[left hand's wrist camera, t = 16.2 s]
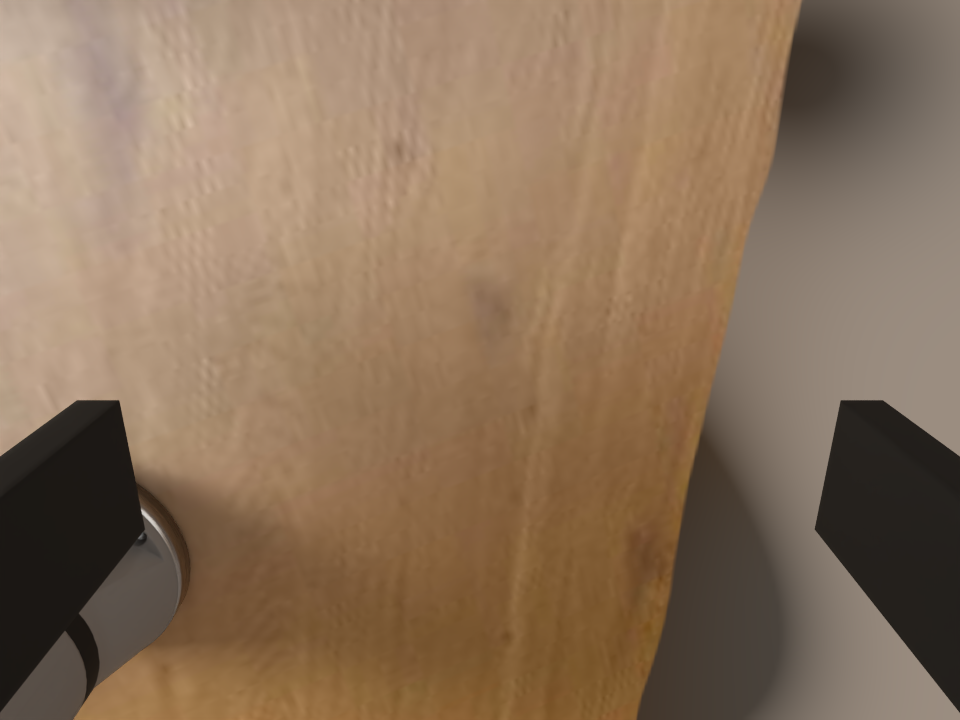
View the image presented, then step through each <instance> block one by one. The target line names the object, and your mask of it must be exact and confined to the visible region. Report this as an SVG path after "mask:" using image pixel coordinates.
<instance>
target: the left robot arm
mask: <svg viewBox="0 0 960 720" xmlns="http://www.w3.org/2000/svg"><path fill="white" fill-rule="evenodd" d="M815 530H816V532H817V533H818V534H819V535H820V537H821V538H822V539H823V540H824V542H825V543H826V544H827V545H828V547H829V548H830V549H831V550H832V552H833V553H834V554H835V556H836V557H837V558H838V559H839V561H840V562H841V563H842V564H843V566H844V567H845V568H846V569H847V571H848V572H849V573H850V574H851V576H852V577H853V578H854V580H855V581H856V582H857V583H858V585H859V586H860V587H861V588H862V590H863V591H864V592H865V593H866V595H867V596H868V597H869V598H870V600H871V601H872V602H873V603H874V605H875V606H876V607H877V609H878V610H879V611H880V612H881V614H882V615H883V616H884V617H885V619H886V620H887V621H888V622H889V624H890V625H891V626H892V628H893V629H894V630H895V631H896V633H897V634H898V635H899V636H900V638H901V639H902V640H903V641H904V643H905V644H906V645H907V647H908V648H909V649H910V650H911V652H912V653H913V654H914V655H915V657H916V658H917V659H918V660H919V662H920V663H921V664H922V665H923V667H924V668H925V669H926V670H927V672H928V673H929V674H930V676H931V677H932V678H933V679H934V681H935V682H936V683H937V684H938V686H939V687H940V688H941V689H942V691H943V692H944V693H945V695H946V696H947V697H948V698H949V700H950V701H951V702H952V703H953V705H954V706H955V707H956V708H957V710H958V711H959V712H960V456H958V455H957V454H956V453H954V452H953V451H951V450H950V449H949V448H947V447H946V446H945V445H943V444H942V443H941V442H939V441H938V440H936V439H935V438H934V437H932V436H931V435H930V434H928V433H927V432H925V431H924V430H923V429H921V428H920V427H919V426H917V425H916V424H914V423H913V422H912V421H910V420H909V419H908V418H906V417H905V416H904V415H902V414H901V413H899V412H898V411H897V410H895V409H894V408H893V407H891V406H890V405H888V404H887V403H886V402H884V401H883V400H841V402H840V407H839V412H838V417H837V422H836V427H835V432H834V437H833V442H832V447H831V452H830V457H829V461H828V466H827V471H826V476H825V481H824V486H823V491H822V496H821V501H820V506H819V511H818V516H817V521H816V526H815ZM189 579H190V561H189V554H188V550H187V547H186V543H185V541H184V538H183V536H182V534H181V532H180V530H179V528H178V526H177V524H176V523H175V521H174V520H173V518H172V517H171V516H170V514H169V513H168V512H167V510H166V509H165V508H164V507H163V506H162V505H161V504H160V503H159V502H158V501H157V500H156V499H155V498H154V497H153V496H152V495H151V494H150V493H149V492H147V491H146V490H145V489H143V488H142V487H141V486H139V485H138V484H136V481H135V476H134V471H133V466H132V461H131V456H130V452H129V447H128V442H127V437H126V432H125V427H124V422H123V417H122V412H121V407H120V402H119V400H77V401H76V402H74V403H73V404H72V405H70V406H69V407H67V408H66V409H65V410H63V411H62V412H61V413H59V414H58V415H56V416H55V417H54V418H52V419H51V420H50V421H48V422H47V423H46V424H44V425H43V426H41V427H40V428H39V429H37V430H36V431H35V432H33V433H32V434H30V435H29V436H28V437H26V438H25V439H24V440H22V441H21V442H19V443H18V444H17V445H15V446H14V447H13V448H11V449H10V450H9V451H7V452H6V453H4V454H3V455H2V456H0V720H73V719H74V717H75V716H76V714H77V713H78V711H79V710H80V708H81V707H82V705H83V704H84V702H85V701H86V699H87V698H88V696H89V695H90V693H91V692H92V690H93V689H94V688H95V687H96V686H97V685H98V684H100V683H101V682H102V681H103V680H105V679H106V678H107V677H109V676H110V675H111V674H112V673H114V672H115V671H116V670H117V669H119V668H120V667H121V666H122V665H124V664H125V663H126V662H128V661H129V660H130V659H131V658H132V657H134V656H135V655H136V654H137V653H139V652H140V651H141V650H143V649H144V648H145V647H147V646H148V645H149V644H151V643H152V642H154V641H155V640H156V639H157V638H158V637H159V636H160V635H161V634H162V633H163V632H164V630H165V629H166V628H167V626H168V625H169V623H170V622H171V620H172V618H173V617H174V615H175V613H176V612H177V610H178V608H179V607H180V605H181V603H182V601H183V599H184V597H185V595H186V592H187V589H188V585H189Z"/></svg>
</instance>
